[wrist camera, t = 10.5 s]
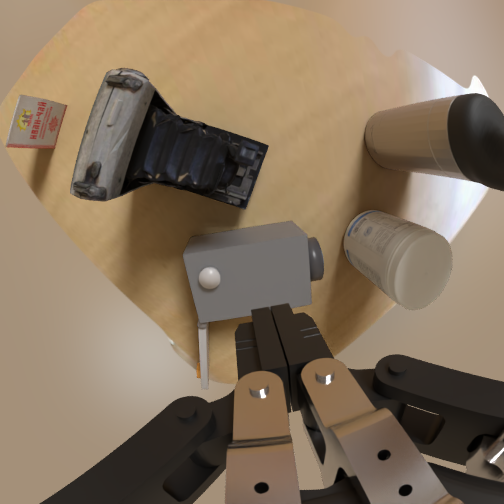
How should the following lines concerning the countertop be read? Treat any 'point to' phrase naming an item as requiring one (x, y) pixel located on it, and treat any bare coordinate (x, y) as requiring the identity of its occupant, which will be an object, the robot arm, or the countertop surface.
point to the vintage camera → (158, 148)
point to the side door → (203, 354)
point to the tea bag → (35, 123)
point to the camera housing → (251, 269)
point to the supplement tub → (399, 257)
